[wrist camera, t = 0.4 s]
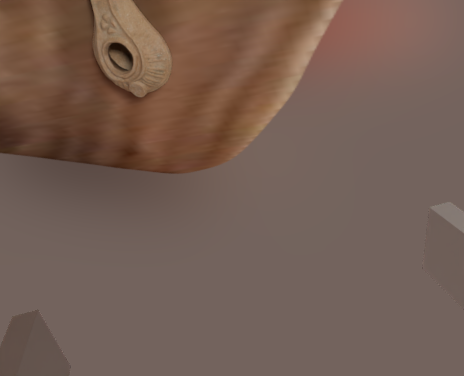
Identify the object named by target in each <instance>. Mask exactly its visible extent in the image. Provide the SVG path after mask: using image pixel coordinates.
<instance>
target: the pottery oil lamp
mask: <svg viewBox="0 0 464 376" xmlns="http://www.w3.org/2000/svg"><path fill="white" fill-rule="evenodd" d="M90 1H91V4H92V8H93V12H94V34H93V51H94V55H95V58H96V60H97V63H98V65H99V66H100V68H101V70H102V71H103V73H104V74H105V76H107V77H108V79H110V80H111V81H112V82H114V83H115V84H116V85H117V86H119V87H121V88H123V89H125V90H127V91H130V92H132V93H133V94H134V95H136V96H138V97H144V96H145V95H146V94H147V93H149V92H153V91H155V90H157V89H159V88H160V87H161V86H163V85H164V84H165V83H166V82H167V81H168V79H169V77H170V74H171V70H172V56H171V53H170V50H169V48H168V46H167V44H166V42H165V40H164V39H163V38H162V36H161V35H160V34H159V32H158V31H157V30H156V29H155V28H154V27H153V26H152V25H151V24H150V22H149V21H148V20H147V19H146V18H145V17H144V15H143V14H142V13H141V12H140V10H139V9H138V7H137V6H136V4H135V3H134V2H133V0H90Z"/></svg>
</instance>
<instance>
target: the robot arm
mask: <svg viewBox="0 0 464 376" xmlns="http://www.w3.org/2000/svg"><path fill="white" fill-rule="evenodd" d="M422 269H423V270H424V271H425V272H426V273H427V274H428V275H430V277H431V278H432V279H434V280H435V281H436V282H437V283H438V284H439V285H440V286H441V287H442V288H443V289H444V290H445V291H446V292H447V293H448V294H449V295H450V296H451V297H452V298H453V299H454V300H455V301H456V302H457V303H458V304H459V305H460V306H461V307H462V308H463V309H464V211H462V210H461V209H459V208H458V207H456V206H455V205H453V204H452V203H450V202H448V203H444V204H440V205H436V206H432V207H430V208H429V215H428V224H427V231H426V240H425V248H424V256H423V264H422ZM70 368H71V366H70V364H69V362H68V361H67V359H66V357H65V355H64V354H63V352H62V350H61V348H60V347H59V345H58V343H57V341H56V340H55V338H54V336H53V334H52V333H51V331H50V329H49V328H48V326H47V324H46V323H45V321H44V319H43V317H42V315H41V314H40V312H39V310H35V311H32V312H28V313H24V314H20V315H16V316H13V317H12V319H11V321H10V324H9V326H8V329H7V331H6V334H5V336H4V339H3V341H2V344H1V346H0V376H69V374H70Z"/></svg>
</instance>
